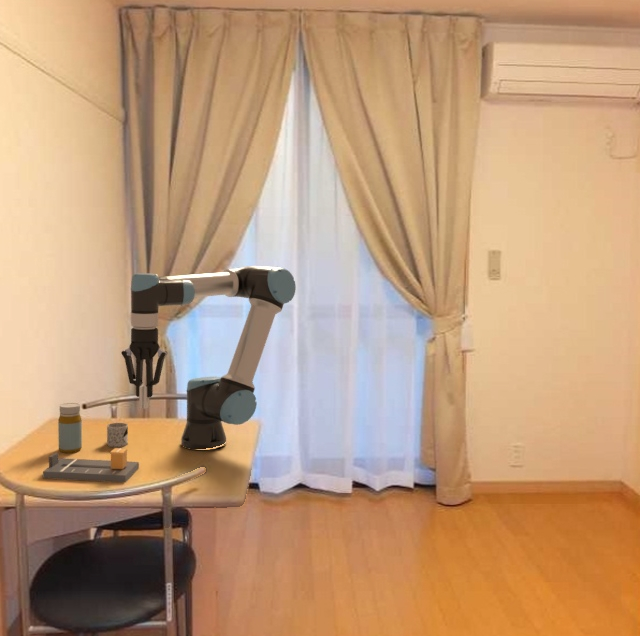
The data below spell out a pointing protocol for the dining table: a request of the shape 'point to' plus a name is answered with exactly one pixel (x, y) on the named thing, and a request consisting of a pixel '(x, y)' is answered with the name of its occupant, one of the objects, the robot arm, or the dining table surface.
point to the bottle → (70, 428)
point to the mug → (117, 434)
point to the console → (87, 470)
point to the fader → (118, 458)
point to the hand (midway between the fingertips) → (144, 407)
